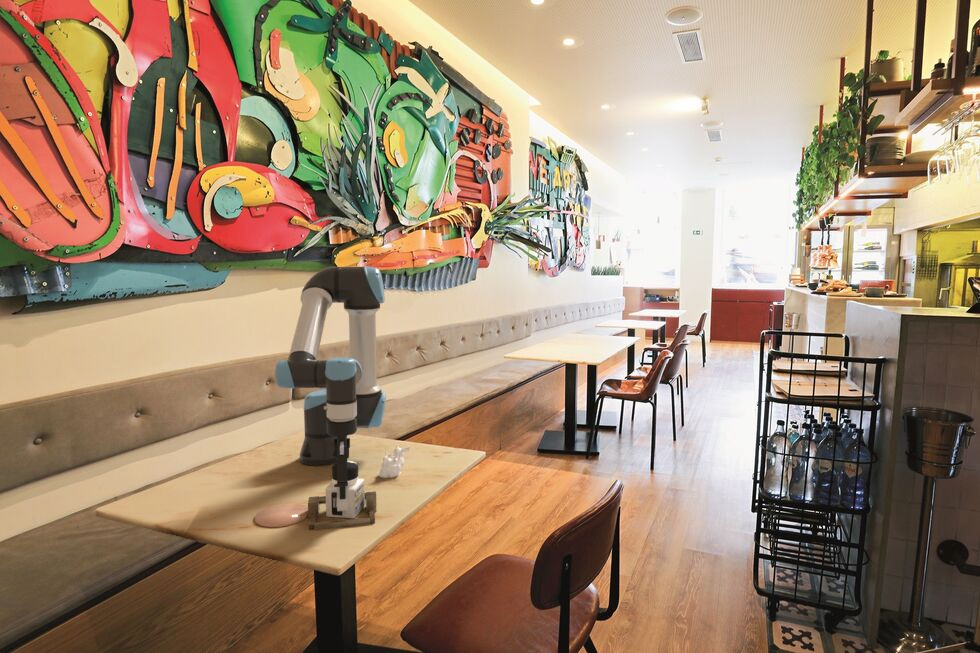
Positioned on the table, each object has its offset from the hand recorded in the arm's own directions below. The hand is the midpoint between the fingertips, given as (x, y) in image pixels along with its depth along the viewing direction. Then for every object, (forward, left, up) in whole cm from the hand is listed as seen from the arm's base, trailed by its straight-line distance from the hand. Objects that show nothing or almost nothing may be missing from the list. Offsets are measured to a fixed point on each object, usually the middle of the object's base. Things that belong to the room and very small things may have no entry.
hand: (343, 502), depth 145 cm
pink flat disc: (-1, -15, -3) cm, 15 cm away
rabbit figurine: (-24, +16, -3) cm, 29 cm away
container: (0, +1, -3) cm, 3 cm away
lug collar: (0, 0, -3) cm, 3 cm away
